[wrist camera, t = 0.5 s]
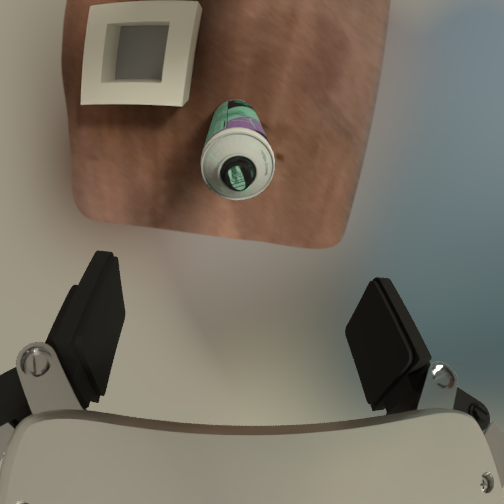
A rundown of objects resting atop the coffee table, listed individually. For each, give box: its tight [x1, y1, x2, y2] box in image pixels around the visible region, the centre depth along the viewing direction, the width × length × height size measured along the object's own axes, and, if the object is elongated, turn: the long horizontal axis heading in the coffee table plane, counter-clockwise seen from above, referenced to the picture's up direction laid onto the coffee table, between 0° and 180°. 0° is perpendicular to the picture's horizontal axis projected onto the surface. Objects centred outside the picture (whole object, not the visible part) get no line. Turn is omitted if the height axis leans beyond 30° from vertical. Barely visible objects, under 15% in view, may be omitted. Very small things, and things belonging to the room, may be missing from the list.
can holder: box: [81, 0, 203, 107], centre depth 27 cm, size 12×12×6 cm
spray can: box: [200, 100, 275, 200], centre depth 28 cm, size 6×6×20 cm
